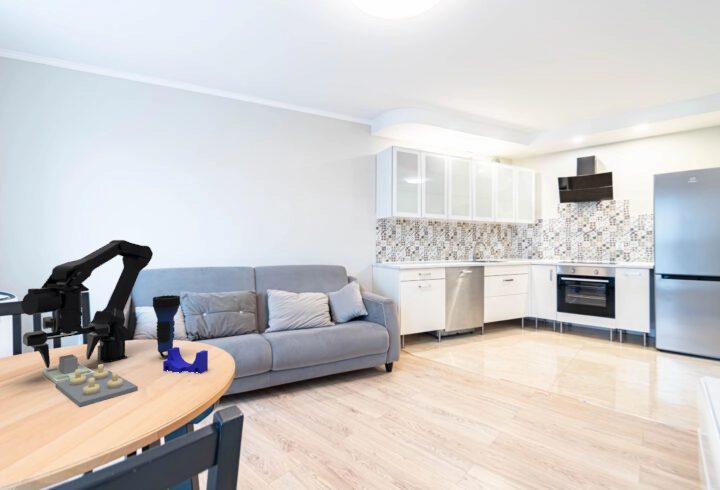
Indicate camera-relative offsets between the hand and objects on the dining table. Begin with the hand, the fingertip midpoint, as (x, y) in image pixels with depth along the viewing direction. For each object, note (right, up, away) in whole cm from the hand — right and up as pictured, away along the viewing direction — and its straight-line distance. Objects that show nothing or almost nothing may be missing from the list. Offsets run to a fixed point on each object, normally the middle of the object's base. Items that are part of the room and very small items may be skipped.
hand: (68, 363), depth 104 cm
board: (0, -3, 0) cm, 3 cm away
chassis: (+16, -3, -11) cm, 19 cm away
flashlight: (+20, -3, +15) cm, 25 cm away
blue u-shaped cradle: (+32, -4, +3) cm, 32 cm away
